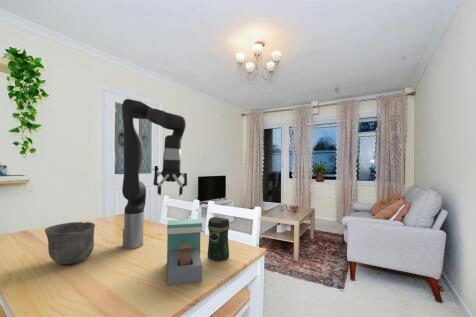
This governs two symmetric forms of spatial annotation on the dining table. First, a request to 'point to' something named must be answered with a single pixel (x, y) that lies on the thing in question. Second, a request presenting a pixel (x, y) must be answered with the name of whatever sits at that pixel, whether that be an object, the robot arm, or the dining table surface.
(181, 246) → the walnut peg
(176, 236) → the teal two-tone block
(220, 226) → the coffee jar
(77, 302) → the dining table surface
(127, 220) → the robot arm
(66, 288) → the dining table surface
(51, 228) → the cup
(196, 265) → the socket block
